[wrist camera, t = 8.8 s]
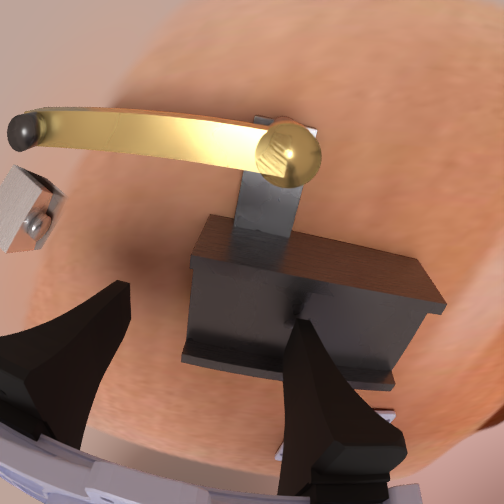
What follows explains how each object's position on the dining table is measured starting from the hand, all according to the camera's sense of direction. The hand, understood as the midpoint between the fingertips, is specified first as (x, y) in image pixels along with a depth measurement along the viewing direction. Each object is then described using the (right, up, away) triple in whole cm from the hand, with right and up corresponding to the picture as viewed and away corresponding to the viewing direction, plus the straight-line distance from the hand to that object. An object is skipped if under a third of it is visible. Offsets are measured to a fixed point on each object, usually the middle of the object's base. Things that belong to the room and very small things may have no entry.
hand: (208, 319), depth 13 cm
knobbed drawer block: (-13, +6, +2) cm, 14 cm away
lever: (-1, +7, -4) cm, 8 cm away
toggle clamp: (+5, +3, +2) cm, 6 cm away
